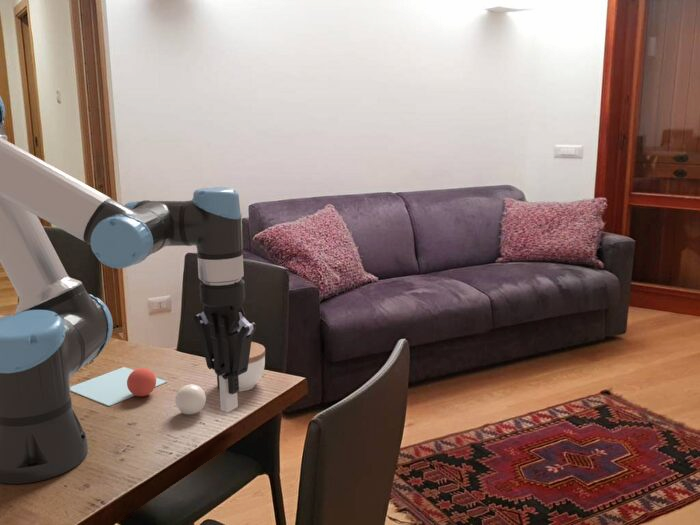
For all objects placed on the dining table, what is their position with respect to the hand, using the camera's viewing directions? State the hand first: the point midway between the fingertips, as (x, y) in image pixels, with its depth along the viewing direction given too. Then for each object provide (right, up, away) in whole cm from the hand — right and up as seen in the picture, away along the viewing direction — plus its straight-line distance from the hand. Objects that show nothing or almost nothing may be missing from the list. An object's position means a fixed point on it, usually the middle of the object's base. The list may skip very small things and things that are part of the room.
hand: (229, 408), depth 118 cm
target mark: (-26, +1, +18) cm, 32 cm away
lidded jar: (-1, 0, +19) cm, 19 cm away
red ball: (-20, +2, +13) cm, 24 cm away
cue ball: (-8, 0, +5) cm, 10 cm away
